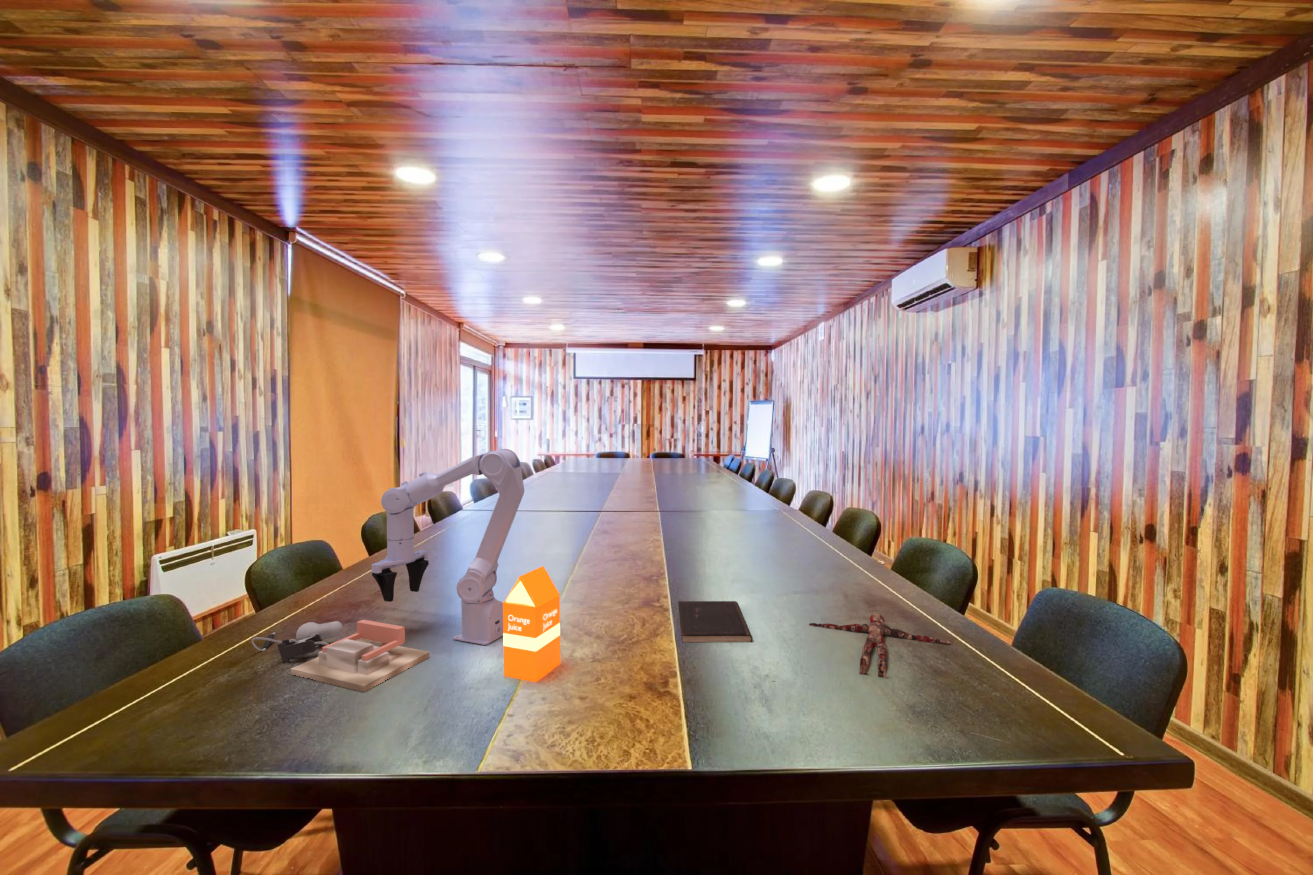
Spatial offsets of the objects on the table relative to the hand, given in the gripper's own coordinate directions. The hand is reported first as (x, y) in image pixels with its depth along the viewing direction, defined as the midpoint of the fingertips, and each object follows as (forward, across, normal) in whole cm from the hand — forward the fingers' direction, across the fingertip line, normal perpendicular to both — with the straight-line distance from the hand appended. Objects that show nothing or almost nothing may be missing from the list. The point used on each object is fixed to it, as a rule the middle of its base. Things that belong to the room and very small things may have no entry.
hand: (401, 595), depth 127 cm
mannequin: (+10, -32, +103) cm, 108 cm away
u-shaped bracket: (+6, +14, +5) cm, 16 cm away
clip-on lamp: (+10, +15, -16) cm, 24 cm away
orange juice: (+10, +4, +39) cm, 40 cm away
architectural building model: (+9, +15, +5) cm, 18 cm away
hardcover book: (+10, -33, +66) cm, 74 cm away
